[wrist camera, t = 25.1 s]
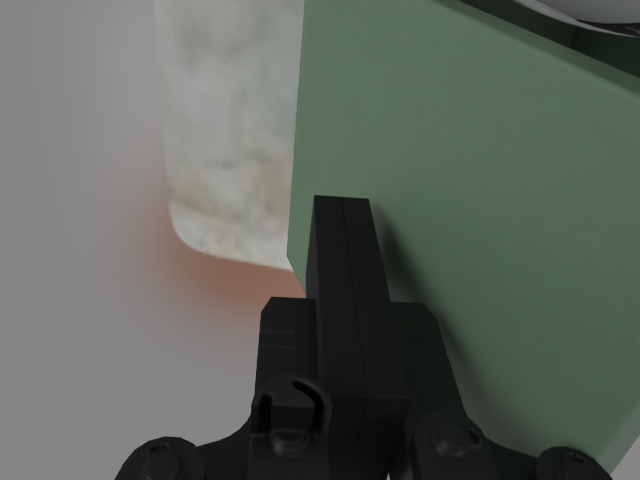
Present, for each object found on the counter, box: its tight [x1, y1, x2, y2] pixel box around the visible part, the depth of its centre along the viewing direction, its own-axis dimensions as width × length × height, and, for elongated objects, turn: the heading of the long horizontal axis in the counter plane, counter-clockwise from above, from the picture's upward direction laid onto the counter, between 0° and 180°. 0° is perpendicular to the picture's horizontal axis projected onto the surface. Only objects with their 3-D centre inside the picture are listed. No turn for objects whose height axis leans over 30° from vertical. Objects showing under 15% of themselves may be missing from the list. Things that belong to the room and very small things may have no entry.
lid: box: [287, 0, 640, 475], centre depth 15 cm, size 15×13×1 cm
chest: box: [458, 0, 640, 78], centre depth 25 cm, size 15×13×9 cm
